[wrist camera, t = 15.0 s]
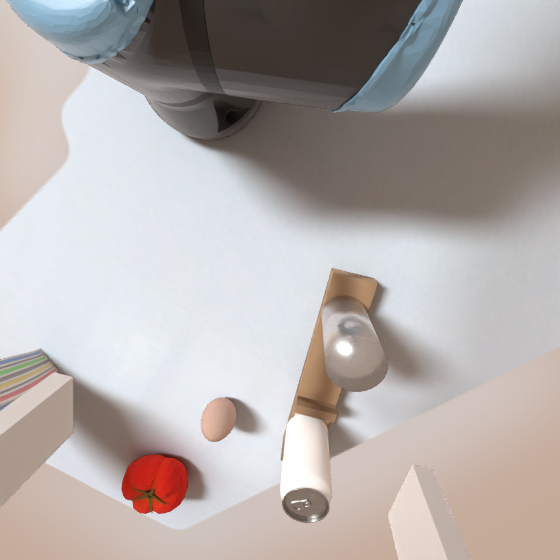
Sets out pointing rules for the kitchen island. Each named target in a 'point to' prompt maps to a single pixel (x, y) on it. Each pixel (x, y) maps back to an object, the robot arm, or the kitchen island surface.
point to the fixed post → (351, 345)
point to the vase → (22, 374)
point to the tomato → (155, 484)
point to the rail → (314, 379)
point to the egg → (218, 419)
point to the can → (306, 470)
